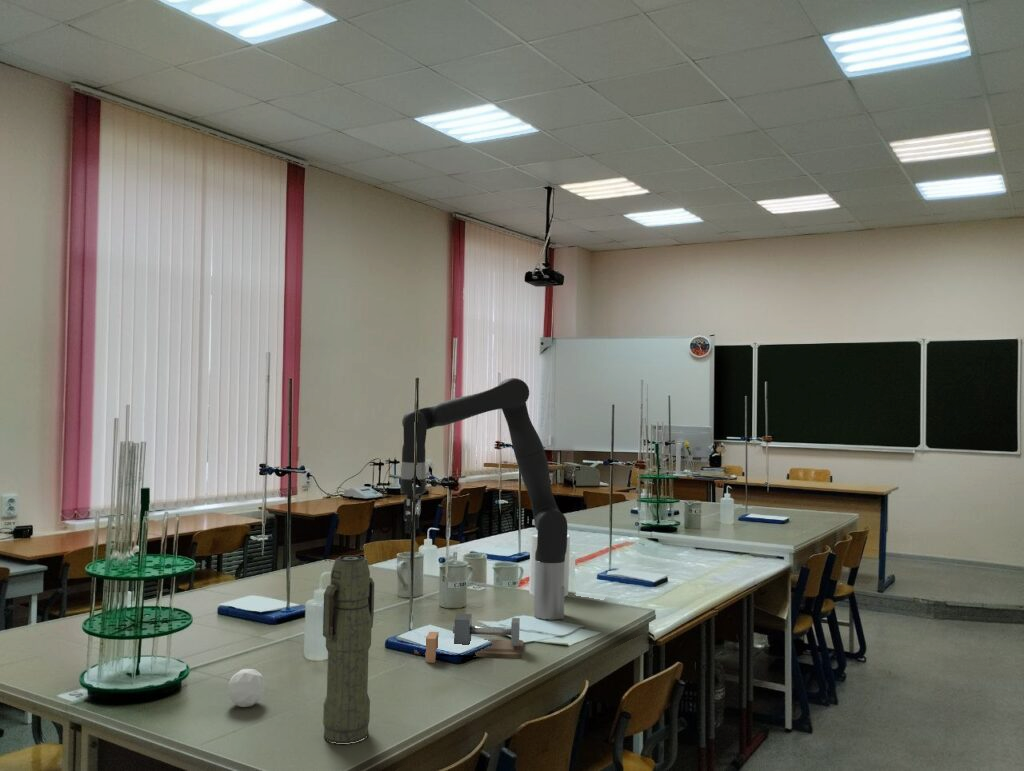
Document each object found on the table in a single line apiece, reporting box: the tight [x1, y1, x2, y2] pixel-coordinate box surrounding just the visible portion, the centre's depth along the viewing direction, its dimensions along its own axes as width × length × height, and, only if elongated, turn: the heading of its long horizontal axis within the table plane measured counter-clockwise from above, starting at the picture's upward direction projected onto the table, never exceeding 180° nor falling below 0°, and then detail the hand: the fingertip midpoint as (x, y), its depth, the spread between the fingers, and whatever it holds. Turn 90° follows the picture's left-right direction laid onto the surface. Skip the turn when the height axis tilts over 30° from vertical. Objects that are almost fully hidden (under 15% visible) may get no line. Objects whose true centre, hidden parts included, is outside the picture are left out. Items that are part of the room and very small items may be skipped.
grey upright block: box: [453, 613, 473, 645], centre depth 215 cm, size 4×6×8 cm, turn 177°
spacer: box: [424, 631, 440, 664], centre depth 206 cm, size 2×6×6 cm, turn 177°
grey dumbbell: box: [452, 617, 521, 646], centre depth 214 cm, size 18×5×6 cm, turn 87°
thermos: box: [322, 554, 375, 743], centre depth 159 cm, size 9×12×35 cm
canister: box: [528, 531, 570, 597], centre depth 279 cm, size 14×14×20 cm
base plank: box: [413, 638, 524, 659], centre depth 214 cm, size 28×12×1 cm, turn 87°
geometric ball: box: [227, 668, 266, 708], centre depth 173 cm, size 8×8×8 cm
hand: (412, 531), depth 241 cm, fingers open, 8 cm apart
